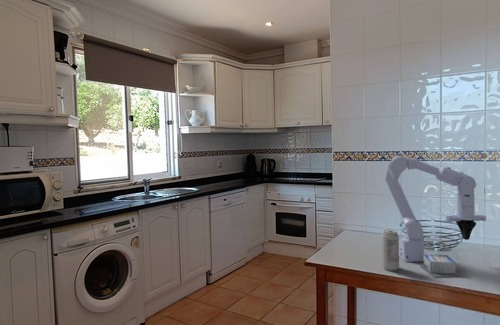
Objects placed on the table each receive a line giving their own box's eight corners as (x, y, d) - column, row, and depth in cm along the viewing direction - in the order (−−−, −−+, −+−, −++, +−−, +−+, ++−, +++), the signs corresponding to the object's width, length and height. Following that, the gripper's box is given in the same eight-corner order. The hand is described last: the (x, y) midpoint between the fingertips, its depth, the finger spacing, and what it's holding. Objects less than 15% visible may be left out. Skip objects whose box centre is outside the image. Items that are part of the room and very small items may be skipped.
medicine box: (455, 262, 119) (430, 261, 121) (455, 274, 119) (430, 272, 121) (447, 254, 127) (423, 254, 128) (447, 266, 127) (423, 265, 129)
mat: (434, 277, 118) (434, 276, 118) (419, 266, 129) (419, 265, 128) (459, 276, 117) (459, 276, 117) (442, 265, 128) (442, 264, 128)
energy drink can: (394, 265, 130) (394, 228, 130) (402, 271, 124) (401, 232, 124) (379, 266, 130) (379, 229, 129) (386, 272, 124) (386, 233, 123)
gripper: (453, 207, 124) (453, 242, 125) (491, 206, 124) (491, 241, 125) (442, 204, 131) (442, 237, 132) (479, 203, 131) (479, 236, 132)
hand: (465, 238), depth 129 cm, fingers closed
